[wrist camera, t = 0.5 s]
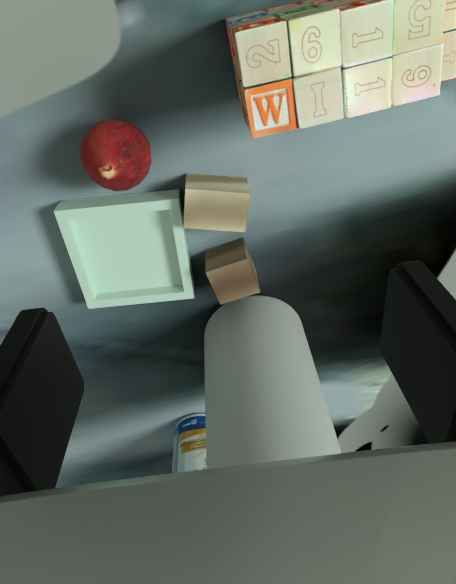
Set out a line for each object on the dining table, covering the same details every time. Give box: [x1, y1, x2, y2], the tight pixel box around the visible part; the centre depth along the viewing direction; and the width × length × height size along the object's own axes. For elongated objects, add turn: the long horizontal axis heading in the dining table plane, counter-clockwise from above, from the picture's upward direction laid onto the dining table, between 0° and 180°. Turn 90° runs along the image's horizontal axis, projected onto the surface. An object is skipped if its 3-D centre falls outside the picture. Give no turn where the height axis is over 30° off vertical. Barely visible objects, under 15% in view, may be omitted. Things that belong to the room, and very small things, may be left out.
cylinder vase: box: [204, 295, 341, 469], centre depth 44 cm, size 12×12×25 cm
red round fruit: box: [81, 120, 152, 191], centre depth 36 cm, size 6×6×8 cm
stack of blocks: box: [225, 0, 456, 139], centre depth 30 cm, size 21×6×12 cm, turn 101°
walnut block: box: [205, 238, 260, 305], centre depth 46 cm, size 4×4×4 cm
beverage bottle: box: [172, 413, 206, 473], centre depth 57 cm, size 8×8×20 cm
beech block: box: [184, 173, 250, 232], centre depth 41 cm, size 4×6×4 cm, turn 84°
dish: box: [54, 189, 195, 309], centre depth 44 cm, size 12×12×2 cm
